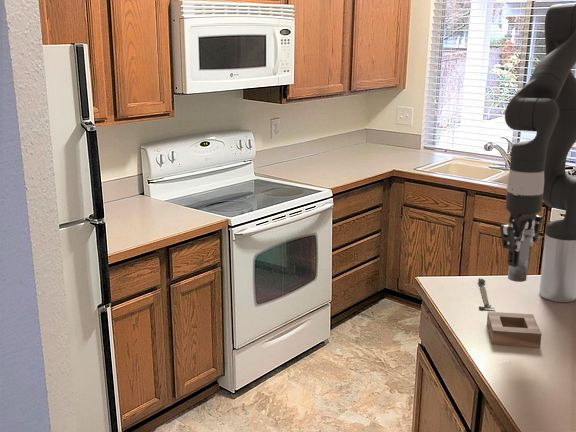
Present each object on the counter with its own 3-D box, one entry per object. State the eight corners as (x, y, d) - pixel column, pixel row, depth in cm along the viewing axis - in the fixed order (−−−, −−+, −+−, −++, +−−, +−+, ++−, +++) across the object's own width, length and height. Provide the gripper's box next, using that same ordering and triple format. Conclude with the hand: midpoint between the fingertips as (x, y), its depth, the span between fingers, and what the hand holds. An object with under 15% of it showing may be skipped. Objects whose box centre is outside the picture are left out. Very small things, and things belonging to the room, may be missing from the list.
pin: (513, 273, 143) (517, 224, 140) (532, 278, 140) (537, 228, 137) (501, 278, 141) (506, 228, 137) (520, 284, 137) (525, 232, 134)
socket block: (486, 324, 150) (487, 311, 149) (531, 327, 148) (533, 314, 147) (491, 344, 140) (493, 330, 139) (540, 347, 138) (541, 333, 137)
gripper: (526, 182, 142) (520, 252, 146) (491, 192, 133) (485, 266, 138) (558, 187, 136) (550, 260, 141) (522, 198, 127) (516, 275, 132)
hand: (518, 263), depth 139 cm, fingers closed on pin, 4 cm apart
